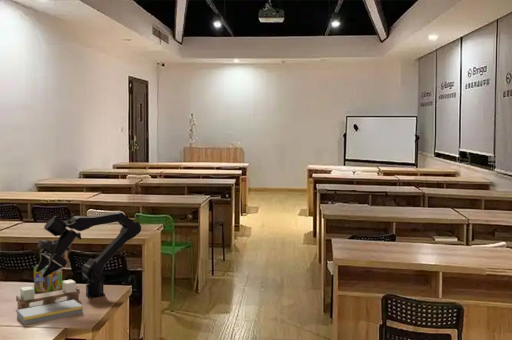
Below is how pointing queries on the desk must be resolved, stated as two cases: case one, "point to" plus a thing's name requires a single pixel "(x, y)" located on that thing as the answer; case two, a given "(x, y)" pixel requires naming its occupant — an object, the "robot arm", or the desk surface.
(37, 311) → the dock
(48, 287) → the chalk box
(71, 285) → the block
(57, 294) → the pallet
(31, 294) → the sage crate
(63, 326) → the desk surface
